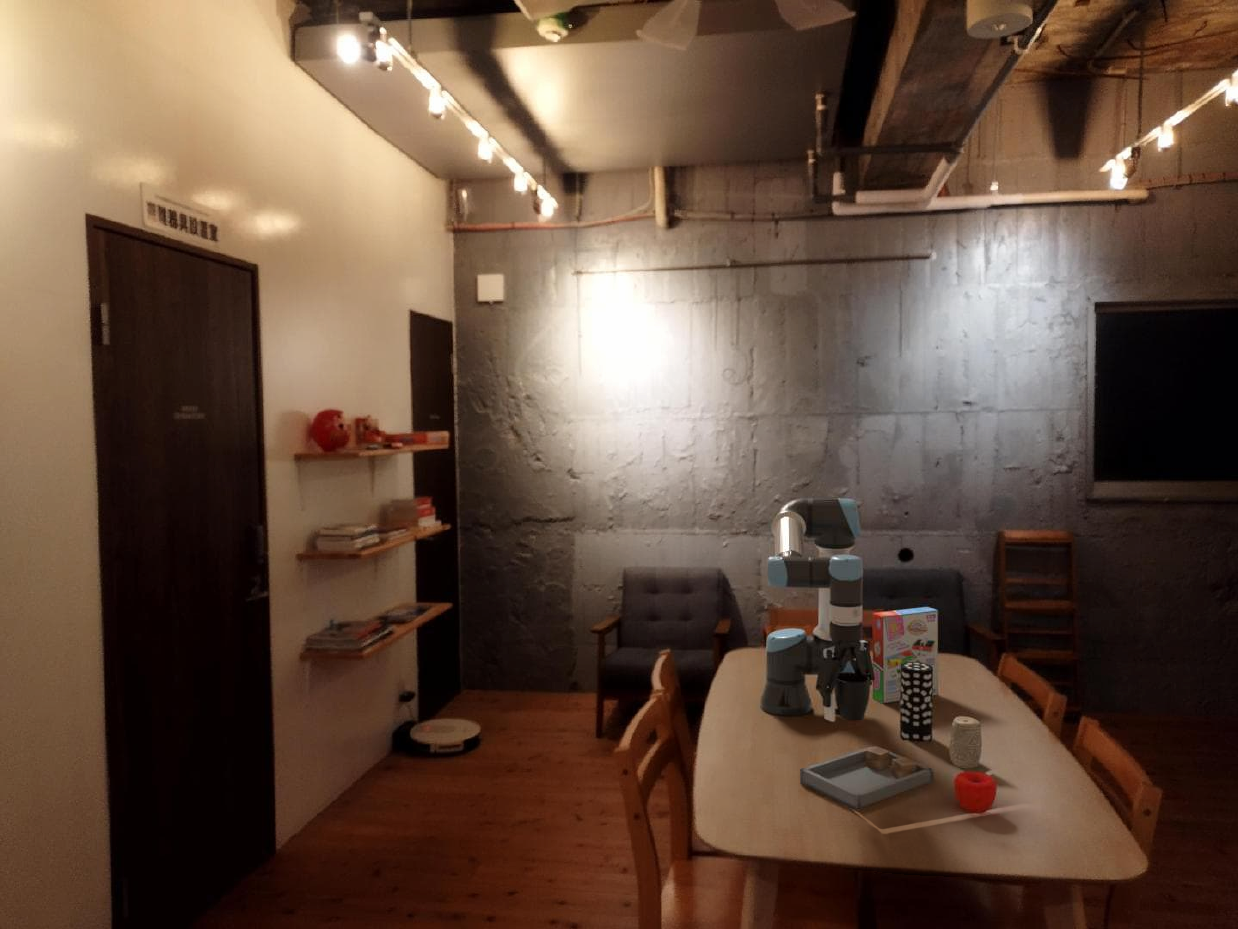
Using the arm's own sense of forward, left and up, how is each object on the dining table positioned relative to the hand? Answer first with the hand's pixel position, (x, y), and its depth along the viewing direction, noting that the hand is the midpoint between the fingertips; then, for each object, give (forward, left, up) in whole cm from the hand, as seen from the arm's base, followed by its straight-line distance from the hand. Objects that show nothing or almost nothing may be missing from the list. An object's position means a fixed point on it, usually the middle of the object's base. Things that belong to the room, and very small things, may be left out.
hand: (845, 715), depth 203 cm
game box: (-35, +64, -18) cm, 76 cm away
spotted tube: (-11, +39, -18) cm, 45 cm away
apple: (+24, +15, -18) cm, 34 cm away
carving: (+8, +34, -18) cm, 40 cm away
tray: (+1, +6, -18) cm, 19 cm away
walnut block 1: (-3, +15, -17) cm, 23 cm away
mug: (0, 0, 0) cm, 1 cm away
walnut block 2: (+5, +15, -17) cm, 23 cm away
